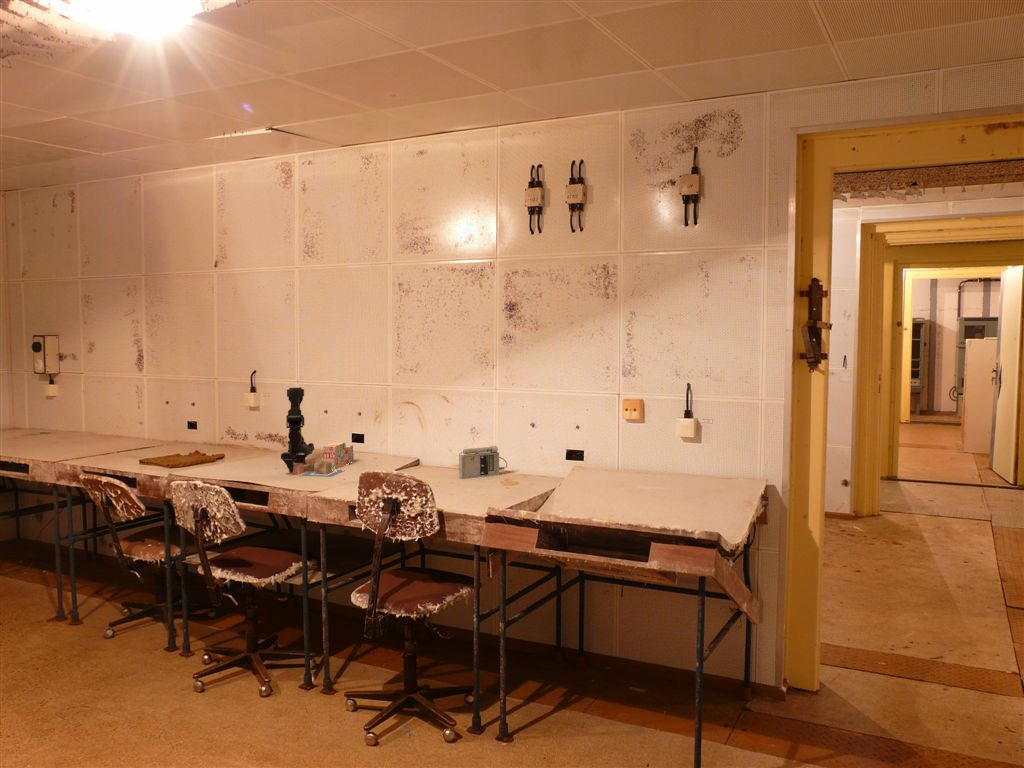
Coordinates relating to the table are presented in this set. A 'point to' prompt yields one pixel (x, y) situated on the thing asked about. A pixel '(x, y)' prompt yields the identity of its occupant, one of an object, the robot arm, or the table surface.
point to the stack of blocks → (338, 454)
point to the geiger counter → (479, 462)
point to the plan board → (333, 473)
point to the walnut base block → (323, 467)
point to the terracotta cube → (297, 468)
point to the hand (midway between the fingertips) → (296, 470)
